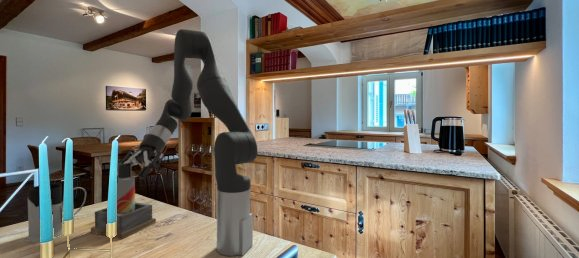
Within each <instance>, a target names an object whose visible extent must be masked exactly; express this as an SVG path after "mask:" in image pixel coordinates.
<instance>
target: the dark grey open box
mask: <svg viewBox="0 0 579 258" xmlns="http://www.w3.org/2000/svg"><path fill="white" fill-rule="evenodd" d="M107 208H108V207H105V208H103V209H100V210H99V209H98V210H96V211H94V226H92V227H90V233H91V234H94V233H97V234H96V235H99V234H101V235H100V236H105V235H106V224H107ZM156 223H157V219H156V218H154V217H153V204H148V203H141V202H136V201H135V210H134V211H131V212H129V213H126V214H124V215H121V214H117V235H116V236H115V237H113V238H114V239H119V240H120V239H121V240H123V239H126V238H127V237H130V236H131V235H134V234H136V233H138V232H140V231H143V230H145V229H146V228H148V227H150V226H153V225H154V224H156ZM105 237H106V236H105Z"/></svg>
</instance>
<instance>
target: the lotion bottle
mask: <svg viewBox="0 0 579 258" xmlns="http://www.w3.org/2000/svg"><path fill="white" fill-rule="evenodd" d="M131 163H132V162H130V163H125V164H123V163H121V164H118V165H117V177H118V183H117V214H121V215H124V214H126V213H129V212H131V211H134V210H135V202H136V182H135V181H136V179H135V176H132V167H131Z"/></svg>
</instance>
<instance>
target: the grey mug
mask: <svg viewBox="0 0 579 258" xmlns="http://www.w3.org/2000/svg"><path fill="white" fill-rule="evenodd" d="M50 185H51V199H52V212H53V228H54V237H57V238H58V236H59V237H61V236H63V235H62V218H63V219H64V203H63V202H64V201H63V193H62V192H63V191H62V190H63V188H62V187H63V186H62V184H59V183H51V184H50ZM39 186H40V185H36V186H31V187H29V188H28V190H27V193H28V194H27V195H28V196H27V218H28V219H27V221H28V222H27V223H28V236H27V238H26V242H29V243H41V242H40V218H39ZM72 189H73V191H75V190H77V189H80V190H83V192H84V200H83V202H82V204H81V205H80V207H79V208H78V209H77V211H76V212H74V213H73V214H74V216H75V215H76V214H77V213H79V212H81V210H82V209H83V207H84V205H85V203H86V199H87V190H86V189H85V187H84V188H83V187H80V186H78V187H77V186H76V187H74V188H72ZM62 212H63V214H62ZM60 235H61V236H60Z"/></svg>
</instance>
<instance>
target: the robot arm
mask: <svg viewBox="0 0 579 258" xmlns="http://www.w3.org/2000/svg"><path fill="white" fill-rule="evenodd" d="M173 51H174V52H173V53H174V55H173V83H172V89H171V98H170V99H168V100H167V101H166V102H165V103H164V107H163V110H162V113H161V116H160V118H159V119H158V120H157V122H156V123H155V124H154V125H153V127H152V128H151V129H150V130H149V131H148V133H147V134H146V135H145V136H144V138H143V139H142V140H141V142H140V143H139V148H138V149H137V150H134V149H132V148H131V149H130V150H129V151H128V152H127V154H126V155H124V157H123V158H122V160H121V161H120V162H121V164H125V163H131V168H132V167H134V166H137V165H138V164H144V166H143V167H142V169H141V170H140V172H139V173H138V174H137V177H138V178H139V179H141V180H144V179H145V178H146V177H147V175H148V174H149V172H150V171H152V170H153V169H154V170H157V169H158V168H159V166H160V164H161V163H162V161H163V159H164V158H165V155H164V153H162V152H163V150H164V149H165V147H166V146H167V144H168V143H169V141H170V139H171V137H172V136H173V134H174V132H176V130H177V128H178V121H176V119H177V120H180V121H182V122H185V121H187V120H189V118H190V117H191V115H192V110H193V109H192V102H191V95H192V91H193V86H194V85H193V82H194V81H193V79H192V77H191V75H190V73H189V71H188V69H187V67H186V64H185V61H186V59H196V60H197V59H198V60H201V61H202V63H203V67H202V69H201V72H200V74H199V76H198V78H197V83H196V88H197V92H198V94H199V97H200V100H201V102H202V104H203V106H204V107H205V108H206V109H207V111H209V112H210V113H211V114H213V116H214V117H215V118H217V119H218V120H219V121H220V122H221V123H222V124H223V125H224V126H225V127H226V129H227V130H228V131H224V132H220V133H219V134H218V135H217V136H216V138H215V141H214V147H213V154H214V155H213V156H214V173H215V174H214V175H215V181H216V192H217V193H216V251H217V252H218V254H220V255H222V256H228V257H233V256H244V255H245V254H246V253H247V251H249V249H251V248H252V246H253V240H254V239H253V237H254V234H253V231H254V230H253V227H254V224H253V223H254V214H253V213H251V184H252V183H251V178H250V177H248V176H246V175H243V174H239V173H237V166H236V165H243V164H248V163H251V162H253V161H255V160H256V158H257V155H258V144H257V140H256V139H255V136H254V134H253V132H252V130H251V128H250V126H249V125H248V124H247V122H246V120H245V118H244V117H243V114H242V113H241V111H240V110H239V107H238V104H236V101H235V98H234V97H233V95H232V91H231V89H230V87H229V84H228V83H227V80H226V78H225V76H224V74H223V72H222V70H221V67H220V65H219V63H218V60H217V57H216V54H215V50H214V47H213V43H212V41H211V39H210V37H209V35H208V34H207V32H205V31H200V30H192V29H191V30H190V29H185V28H183V29H182V28H180V29H179V30H177V32H176V33H175V37H174V49H173Z"/></svg>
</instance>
